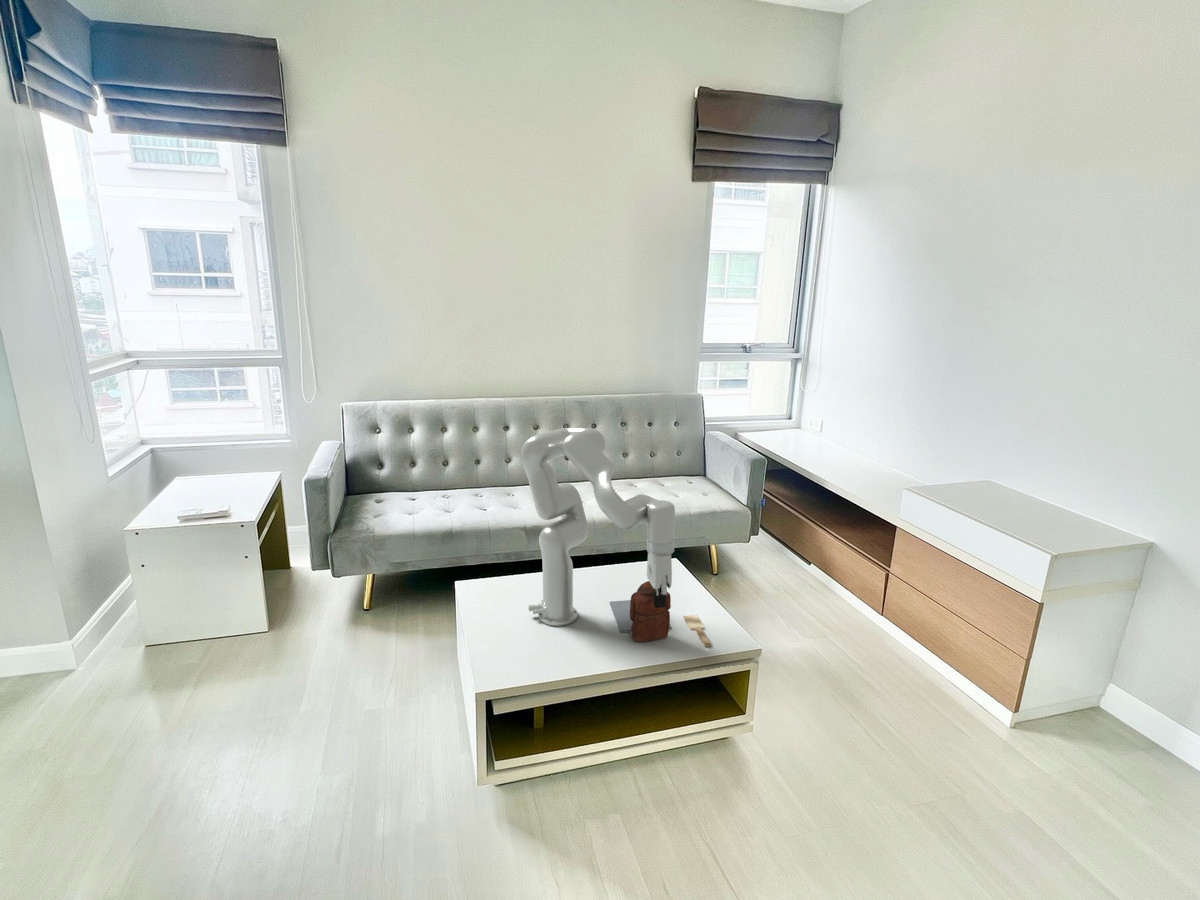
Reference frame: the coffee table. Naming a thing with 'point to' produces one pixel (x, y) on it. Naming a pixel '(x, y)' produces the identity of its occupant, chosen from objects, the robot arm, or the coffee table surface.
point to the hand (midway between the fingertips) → (659, 606)
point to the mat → (622, 615)
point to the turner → (697, 628)
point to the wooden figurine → (648, 615)
